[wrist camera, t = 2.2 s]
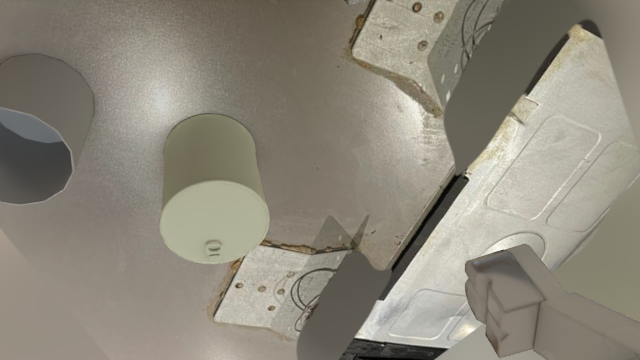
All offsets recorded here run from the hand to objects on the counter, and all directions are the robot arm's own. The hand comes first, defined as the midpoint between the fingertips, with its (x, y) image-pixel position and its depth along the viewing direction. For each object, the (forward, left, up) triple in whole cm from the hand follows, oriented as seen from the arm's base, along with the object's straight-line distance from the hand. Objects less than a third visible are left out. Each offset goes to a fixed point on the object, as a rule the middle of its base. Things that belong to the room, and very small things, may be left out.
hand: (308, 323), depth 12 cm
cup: (+18, +6, -36) cm, 41 cm away
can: (+6, +16, -36) cm, 40 cm away
